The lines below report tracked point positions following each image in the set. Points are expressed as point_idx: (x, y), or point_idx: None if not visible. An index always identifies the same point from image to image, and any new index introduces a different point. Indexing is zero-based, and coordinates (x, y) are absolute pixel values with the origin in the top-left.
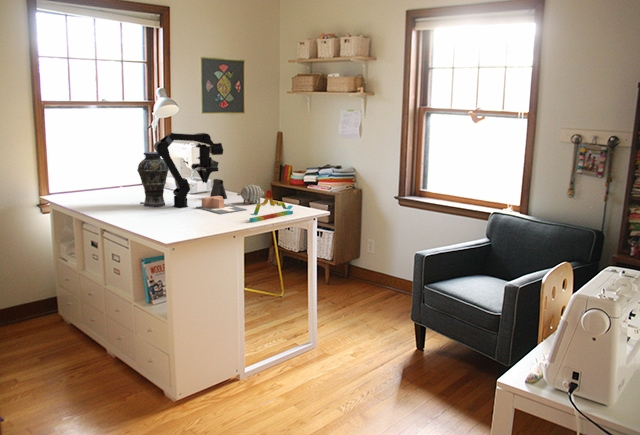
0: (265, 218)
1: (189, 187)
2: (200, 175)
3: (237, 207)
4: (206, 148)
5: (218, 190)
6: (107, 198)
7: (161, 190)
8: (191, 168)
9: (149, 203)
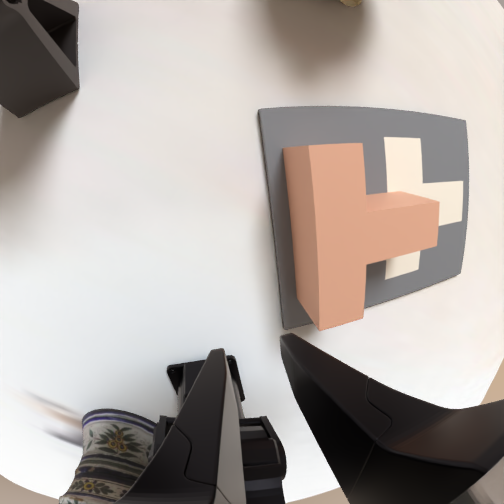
0: None
1: (277, 453)
2: (241, 498)
3: (424, 122)
4: None
5: (44, 41)
6: (4, 448)
7: None
8: None
9: None
